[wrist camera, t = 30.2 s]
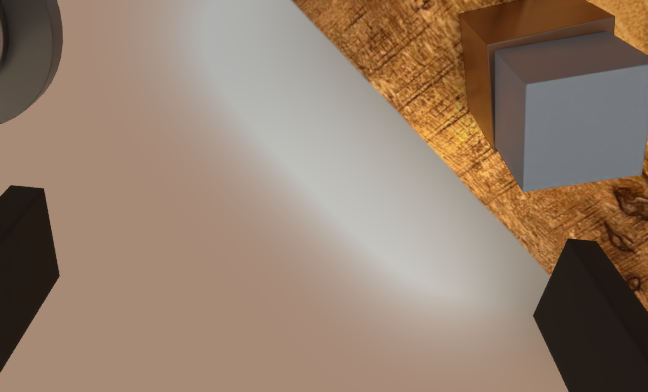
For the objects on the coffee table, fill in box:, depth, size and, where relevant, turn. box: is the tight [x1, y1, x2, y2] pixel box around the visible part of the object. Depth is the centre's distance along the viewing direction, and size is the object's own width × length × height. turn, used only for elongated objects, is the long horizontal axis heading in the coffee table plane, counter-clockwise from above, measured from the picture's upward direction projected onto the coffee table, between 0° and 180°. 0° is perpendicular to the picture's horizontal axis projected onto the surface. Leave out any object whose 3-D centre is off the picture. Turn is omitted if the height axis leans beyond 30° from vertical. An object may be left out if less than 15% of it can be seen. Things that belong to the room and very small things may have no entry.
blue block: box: [495, 31, 648, 192], centre depth 38 cm, size 8×8×7 cm
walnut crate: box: [459, 0, 615, 152], centre depth 45 cm, size 9×9×9 cm
